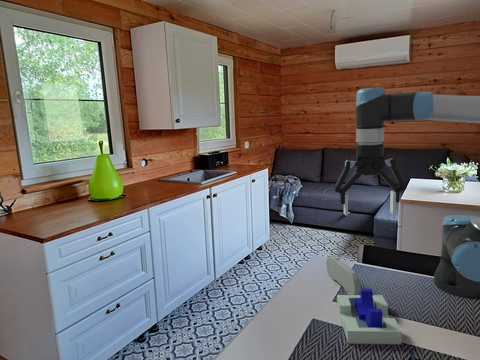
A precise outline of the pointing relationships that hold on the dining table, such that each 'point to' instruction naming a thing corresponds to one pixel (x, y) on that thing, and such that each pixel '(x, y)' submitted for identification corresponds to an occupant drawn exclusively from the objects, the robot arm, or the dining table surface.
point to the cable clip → (368, 309)
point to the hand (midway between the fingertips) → (369, 213)
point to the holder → (358, 328)
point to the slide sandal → (343, 275)
